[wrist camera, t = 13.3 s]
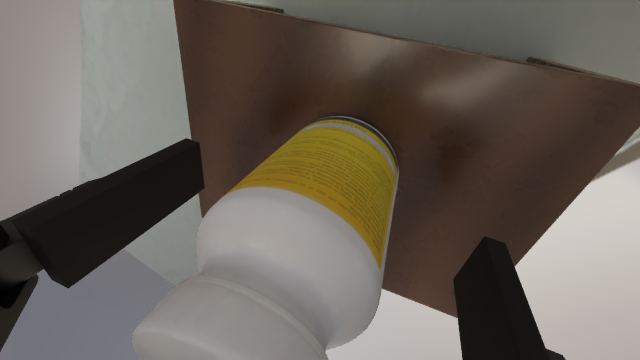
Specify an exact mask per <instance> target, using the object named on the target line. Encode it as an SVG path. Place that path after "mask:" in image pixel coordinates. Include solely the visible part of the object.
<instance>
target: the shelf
mask: <svg viewBox="0 0 640 360" xmlns="http://www.w3.org/2000/svg"><path fill="white" fill-rule="evenodd" d="M173 1H174V9H175V17H176V24H177V32H178V39H179V47H180V55H181V62H182V70H183V78H184V85H185V93H186V100H187V108H188V116H189V123H190V131H191V138H192V140H193V141H196V142H199V143H200V151H201V159H202V168H203V177H204V185H205V188H204V189H203V190H202V191H200V192H199V199H200V207H201V215H202V218H204V216H205V215H206V213H207V212H208V211H209V209H210V208H211V207H212V206H213V205H214V204H215V203H216V202H218V201H219V200H220V199H221V198H222V197H223V196H224V195H225V194H227V193H228V192H229V191H230V190H231V189H233V188H234V187H235V186H236V185H237V184H238V183H239V182H241V181H242V180H243V179H244V178H245V177H246V176H248V175H249V174H250V173H251V172H252V171H253V170H254V169H256V168H257V167H258V166H259V165H260V164H261V163H263V162H264V161H265V160H266V159H267V158H269V157H270V156H271V155H272V154H273V153H274V152H276V151H277V150H278V149H279V148H280V147H281V146H283V145H284V144H285V143H286V142H287V141H288V140H290V139H291V138H292V137H293V136H294V135H295V134H297V133H298V132H299V131H300V130H301V129H303V128H304V127H305V126H307V125H308V124H310V123H312V122H314V121H316V120H318V119H321V118H325V117H331V116H345V117H351V118H355V119H358V120H361V121H363V122H365V123H367V124H369V125H370V126H372V127H373V128H375V129H376V130H377V131H379V132H380V133H381V134H382V135H383V136H384V137H385V138H386V140H387V141H388V142H389V144H390V145H391V147H392V149H393V151H394V153H395V156H396V159H397V163H398V168H399V178H398V186H397V191H396V196H395V202H394V208H393V214H392V221H391V228H390V234H389V241H388V247H387V254H386V260H385V267H384V275H383V282H382V289H385V290H387V291H390V292H392V293H395V294H397V295H400V296H403V297H405V298H408V299H410V300H413V301H415V302H418V303H420V304H423V305H426V306H428V307H430V308H433V309H436V310H438V311H441V312H443V313H446V314H448V315H451V316H453V317H456V318H458V316H457V308H456V299H455V291H454V282H453V279H454V277H455V276H456V275H457V273H458V272H459V271H460V269H461V268H462V266H463V265H464V264H465V262H466V261H467V259H468V258H469V257H470V255H471V254H472V252H473V251H474V250H475V248H476V247H477V246H478V244H479V243H480V241H481V240H482V239H483V237H484V236H486V237H489V238H492V239H495V240H498V241H501V242H504V243H506V246H507V248H508V251H509V254H510V256H511V259H512V262H513V264H514V267H515V266H516V264H517V263H518V262H519V261H520V260H521V259H522V258H523V257H524V255H525V254H526V253H527V252H528V251H529V250H530V249H531V247H532V246H533V245H534V244H535V243H536V242H537V241H538V240H539V239H540V237H541V236H542V235H543V234H544V233H545V232H546V231H547V230H548V228H549V227H550V226H551V225H552V224H553V223H554V222H555V221H556V219H557V218H558V217H559V216H560V215H561V214H562V213H563V212H564V211H565V210H566V208H567V207H568V206H569V205H570V204H571V203H572V202H573V201H574V199H575V198H576V197H577V196H578V195H579V194H580V193H581V192H582V190H583V189H584V188H585V187H586V186H587V185H588V184H589V183H590V182H591V180H592V179H593V178H594V177H595V176H596V175H597V174H598V173H599V171H600V170H601V169H602V168H603V167H604V166H605V165H606V164H607V162H608V161H609V160H610V159H611V158H612V157H613V156H614V155H615V154H616V152H617V151H618V150H619V149H620V148H621V147H622V146H623V145H624V143H625V142H626V141H627V140H628V139H629V138H630V137H631V136H632V134H633V133H634V132H635V131H636V130H637V129H638V128H639V127H640V84H638V83H634V82H630V81H626V80H622V79H619V78H615V77H611V76H607V75H603V74H599V73H595V72H592V71H588V70H584V69H580V68H576V67H572V66H568V65H565V64H561V63H557V62H553V61H548V60H542V59H537V58H532V57H529V58H528V60H527V62H523V61H518V60H513V59H508V58H503V57H498V56H493V55H488V54H483V53H478V52H473V51H468V50H463V49H458V48H453V47H448V46H443V45H438V44H433V43H428V42H423V41H417V40H412V39H407V38H402V37H397V36H392V35H387V34H382V33H377V32H372V31H367V30H362V29H357V28H352V27H347V26H342V25H337V24H332V23H327V22H322V21H317V20H312V19H306V18H301V17H296V16H291V15H286V14H283V12H284V10H283V9H280V8H275V7H270V6H263V5H256V4H249V3H242V2H234V1H227V0H173Z"/></svg>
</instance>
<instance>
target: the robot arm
mask: <svg viewBox="0 0 640 360" xmlns="http://www.w3.org/2000/svg"><path fill="white" fill-rule="evenodd" d="M204 188H205V185H204V177H203V168H202V159H201V151H200V143H199V142H196V141H193V140H190V139H187V138H186V139H184V140H182V141H180V142H178V143H175V144H173V145H171V146H169V147H167V148H165V149H163V150H161V151H158V152H156V153H154V154H152V155H150V156H148V157H146V158H143V159H141V160H139V161H137V162H135V163H133V164H131V165H129V166H126V167H124V168H122V169H120V170H118V171H116V172H114V173H111V174H109V175H107V176H105V177H103V178H99V179H95V180H92V181H88V182H86V183H84V184H81V185H79V186H77V187H75V188H73V190H68V191H66V192H64V193H62V194H60V196H55V197H53V198H51V199H49V200H47V201H44V202H42V203H40V204H38V205H36V206H34V207H31V208H29V209H27V210H25V211H23V212H20V213H18V214H16V215H14V216H12V217H10V218H7V219H5V220H2V221H0V351H1V349H2V348H3V346H4V344H5V342H6V340H7V338H8V336H9V334H10V333H11V331H12V329H13V327H14V325H15V323H16V322H17V320H18V318H19V316H20V314H21V312H22V310H23V308H24V307H25V305H26V303H27V301H28V299H29V297H30V296H31V294H32V292H33V290H34V288H35V286H36V285H37V282H38V278H39V277H38V275H37V273H38V272H40V271H41V270H43V269H45V271H46V272H47V273H48V275H49V276H50V278H51V279H52V280H53V281H55V282H57V283H59V284H61V285H63V286H65V287H67V288H70V287H71V286H72V285H74V284H75V283H77V282H78V281H79V280H81V279H82V278H83V277H85V276H86V275H87V274H89V273H90V272H92V271H93V270H94V269H95V268H97V267H98V266H100V265H101V264H102V263H104V262H105V261H106V260H108V259H109V258H111V257H112V256H113V255H115V254H116V253H117V252H119V251H120V250H121V249H123V248H124V247H125V246H127V245H128V244H130V243H131V242H132V241H134V240H135V239H136V238H138V237H139V236H140V235H142V234H143V233H145V232H146V231H147V230H149V229H150V228H151V227H153V226H154V225H155V224H157V223H158V222H159V221H161V220H162V219H164V218H165V217H166V216H168V215H169V214H170V213H172V212H173V211H174V210H176V209H177V208H178V207H180V206H181V205H183V204H184V203H185V202H187V201H188V200H189V199H191V198H192V197H193V196H195V195H196V194H197V193H199V192H200V191H202V190H203V189H204ZM453 282H454V291H455V299H456V308H457V316H458V325H459V332H460V341H461V350H462V358H463V360H565V358H564V357H563V355H560V354H558V353H555V352H553V351H551V350H548V349H546V348H545V346H544V343H543V340H542V338H541V335H540V333H539V330H538V327H537V325H536V322H535V319H534V317H533V314H532V311H531V309H530V306H529V304H528V301H527V298H526V296H525V293H524V290H523V288H522V285H521V283H520V280H519V278H518V275H517V272H516V270H515V267H514V264H513V262H512V259H511V256H510V254H509V251H508V248H507V246H506V243H504V242H501V241H498V240H495V239H492V238H489V237H486V236H484V237H483V239H482V240H481V241H480V243H479V244H478V246H477V247H476V248H475V250H474V251H473V252H472V254H471V255H470V257H469V258H468V259H467V261H466V262H465V264H464V265H463V266H462V268H461V269H460V271H459V272H458V273H457V275H456V276H455V277H454V279H453Z"/></svg>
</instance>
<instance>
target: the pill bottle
mask: <svg viewBox="0 0 640 360" xmlns="http://www.w3.org/2000/svg"><path fill="white" fill-rule="evenodd" d="M398 178H399V168H398V163H397V159H396V156H395V153H394V151H393V149H392V147H391V145H390V144H389V142H388V141H387V140H386V138H385V137H384V136H383V135H382V134H381V133H380V132H379V131H377V130H376V129H375V128H373V127H372V126H370V125H369V124H367V123H365V122H363V121H361V120H358V119H355V118H351V117H345V116H331V117H325V118H321V119H318V120H316V121H314V122H312V123H310V124H308V125H307V126H305V127H304V128H303V129H301V130H300V131H299V132H298V133H297V134H295V135H294V136H293V137H292V138H291V139H290V140H288V141H287V142H286V143H285V144H284V145H283V146H281V147H280V148H279V149H278V150H277V151H276V152H274V153H273V154H272V155H271V156H270V157H269V158H267V159H266V160H265V161H264V162H263V163H261V164H260V165H259V166H258V167H257V168H256V169H254V170H253V171H252V172H251V173H250V174H249V175H248V176H246V177H245V178H244V179H243V180H242V181H241V182H239V183H238V184H237V185H236V186H235V187H234V188H233V189H231V190H230V191H229V192H228V193H227V194H225V195H224V196H223V197H222V198H221V199H220V200H219V201H218V202H216V203H215V204H214V205H213V206H212V207H211V208H210V209H209V211H208V212H207V213H206V215H205V216H204V218H203V220H202V222H201V223H200V226H199V229H198V232H197V236H196V242H195V258H196V265H197V269H198V273H199V276H194V277H191V278H187V279H185V280H184V281H182V282H181V283H179V284H178V285H177V286H175V287H174V288H172V289H171V290H170V291H169V292H168V293H167V294H166V295H165V297H164V298H163V299H162V300H161V301H160V302H159V303H158V305H157V306H156V307H155V308H154V309H153V310H152V311H151V312H150V313H149V314H148V315H147V317H146V318H145V319H144V320H143V321H142V322H141V323H140V324H139V325H138V326H137V328H136V329H135V331H134V333H133V335H132V344H133V348H134V350H135V351H136V353H137V355H138V356H139V358H140V359H141V360H328V358H327V355H326V353H325V350H327V349H331V348H335V347H338V346H340V345H343V344H346V343H348V342H350V341H352V340H353V339H355V338H356V337H357V336H359V335H360V334H361V333H362V332H363V331H364V330H365V329H366V328H367V327H368V325H369V324H370V323H371V321H372V319H373V318H374V316H375V313H376V311H377V308H378V305H379V300H380V295H381V289H382V282H383V275H384V267H385V260H386V254H387V247H388V241H389V234H390V228H391V221H392V214H393V208H394V202H395V196H396V191H397V186H398Z"/></svg>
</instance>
